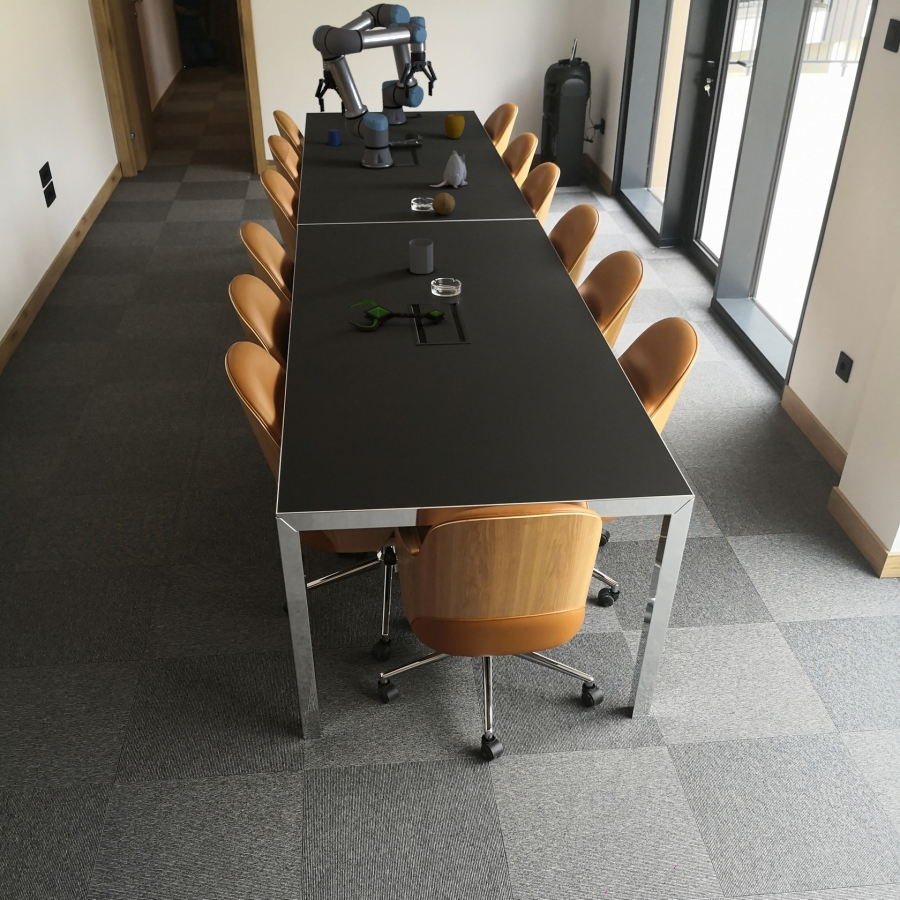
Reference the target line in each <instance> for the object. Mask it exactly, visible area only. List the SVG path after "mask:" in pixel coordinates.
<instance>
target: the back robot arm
mask: <svg viewBox="0 0 900 900" xmlns="http://www.w3.org/2000/svg"><path fill="white" fill-rule="evenodd" d="M410 17H411V13H410V12H409V9H408V8H407V7H406V6H404V5H402V4H399V3H397V4H395V3H394V4H393V3H384V2H382V3H377V4H375V5H373V6H370V7H369V8H367V9H365V10H363V11H361V14H360V15H359V16H357V17H356V18H354V19H353V20H350V21H349V22H347V23H346V24H344V25H342V26H340V27H339V28H342V29H347V30H359V31H360V32H361V31H370V30H374V29H375V28H383V29H388V27H389V25H390V24H393V23H405V22H409V21H410ZM391 47H392V53H393V56H394V63H395V67H396V68H395V69H396V72H397V77H398V79H391V80H385V81H383V82H382V84H381V99H382V100H381V101H382V102H381V103H382V111H381V114H382V115H384V116H386V118H387V121H388V126H400V125H405V124H407V119H415V118H420V117H421V116H422V114H421V113H419V112H417V115H409V116H408V115H406V114H405V111H404V107H406V108H415V109H417V108H418V107H420V106H421V104H422V103H423V100H424V98H425V97H424V96H425V92H424V88H422V87H421V86H420V85H419V82H418V79H416V77H415V76H414V74H413V76H412V77H411V79H410V81H409V82H408V84H407V85H409V99H407V98H405V91H404V85H403V84H402V83H400V80H401V77H402V74H403V71H404V69H405V63H411V52H410V47H409V44H403V45H395V46H391ZM349 55H350V54H348V56H349ZM321 59H322V61H321V62H322V69H323V70H322V74H323V76H322V78H319V79H318V85H317V88H316V91H315V94H314V97H315V98H317V99H318V106H319V111H320V113H324V112H325V110H326V109H325V98H324V96H325V94H326V93H327V91H328V90H334V91H335V92H336V94H337V95H338V97H339V98H340V100H341V101H340V110H341V116H345V112H346V108H345V106H344V103H343V100H342V98H341V95H340V93H339V90H338V88H337V85H336V82H335V80H334V77H333V75H332V72H331V70H330V67H329V64H328V63H327V62H324V61H323V58H322V57H321ZM411 68H412V67H411V66H410V68H409V71H408V74H409V72H410V69H411ZM408 74H407V75H408ZM418 113H419V114H418ZM419 115H420V116H419Z"/></svg>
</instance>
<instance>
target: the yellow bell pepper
mask: <svg viewBox="0 0 900 900" xmlns="http://www.w3.org/2000/svg"><path fill="white" fill-rule="evenodd" d="M465 123H466V122H465V117H464V116H463V115H462V114H461V113H449V114H447V115H446V116H445V118H444V129H445V133H446V136H447V137H448V138H449V139H450V140H455V139H458V138H460V137H461V136H462V134H463V132H464V129H465Z"/></svg>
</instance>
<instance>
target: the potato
mask: <svg viewBox="0 0 900 900" xmlns="http://www.w3.org/2000/svg"><path fill="white" fill-rule="evenodd" d="M455 206H456V200H455V198H454V196H452V195H451V194H449V193H448V192H439V193H437V194H436V195H435V197H434V198H433V200H432V201H431V207H432V209H433V210H434V212H436V213H437V214H439V215H441V216H442V215H449V214H450V213H452V212H453V211H454V209H455Z"/></svg>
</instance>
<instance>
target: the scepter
mask: <svg viewBox="0 0 900 900" xmlns="http://www.w3.org/2000/svg"><path fill="white" fill-rule="evenodd" d="M362 304H371V305H373V306H372V307H371V308H367V309H366V310H364V311H363V313H364V314H365V315H364V316H363V318H364V319H366V320H368V321H369V322H372V323H373V324H372V325H369V326H367V325H360V324H358V323H356V322H353V321H350V320H349V321H348V324H350V325H351V326H353V327H354V328H356V329H359V330H361V331H375V330H377V329H378V327H379V326H380V325H382V324H383V323H385V322H388V321H389V320H390V321H391V319H394V318H396V319H397V318H398V319H399V318H400V319H426V320H428V321H431V322H433V323H434V324H436V323H439V322H441V321H444V320H445V319H446V318H445V317H444V315H446V313H445V312H443V311H441V310H438V309H434V310H433V309H432V310H431V311H429V312H426V313H425V312H420V313H419V312H393V311H392V310H390V309H388V308H385V307H384V306H382V305H380V304H379V302H378V301H377V300H376V299H369V298H368V299H360V300H358V301H355V303H352V304H351V305H349V306H348V307H349V308H353V307H356V306H359V305H362Z"/></svg>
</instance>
